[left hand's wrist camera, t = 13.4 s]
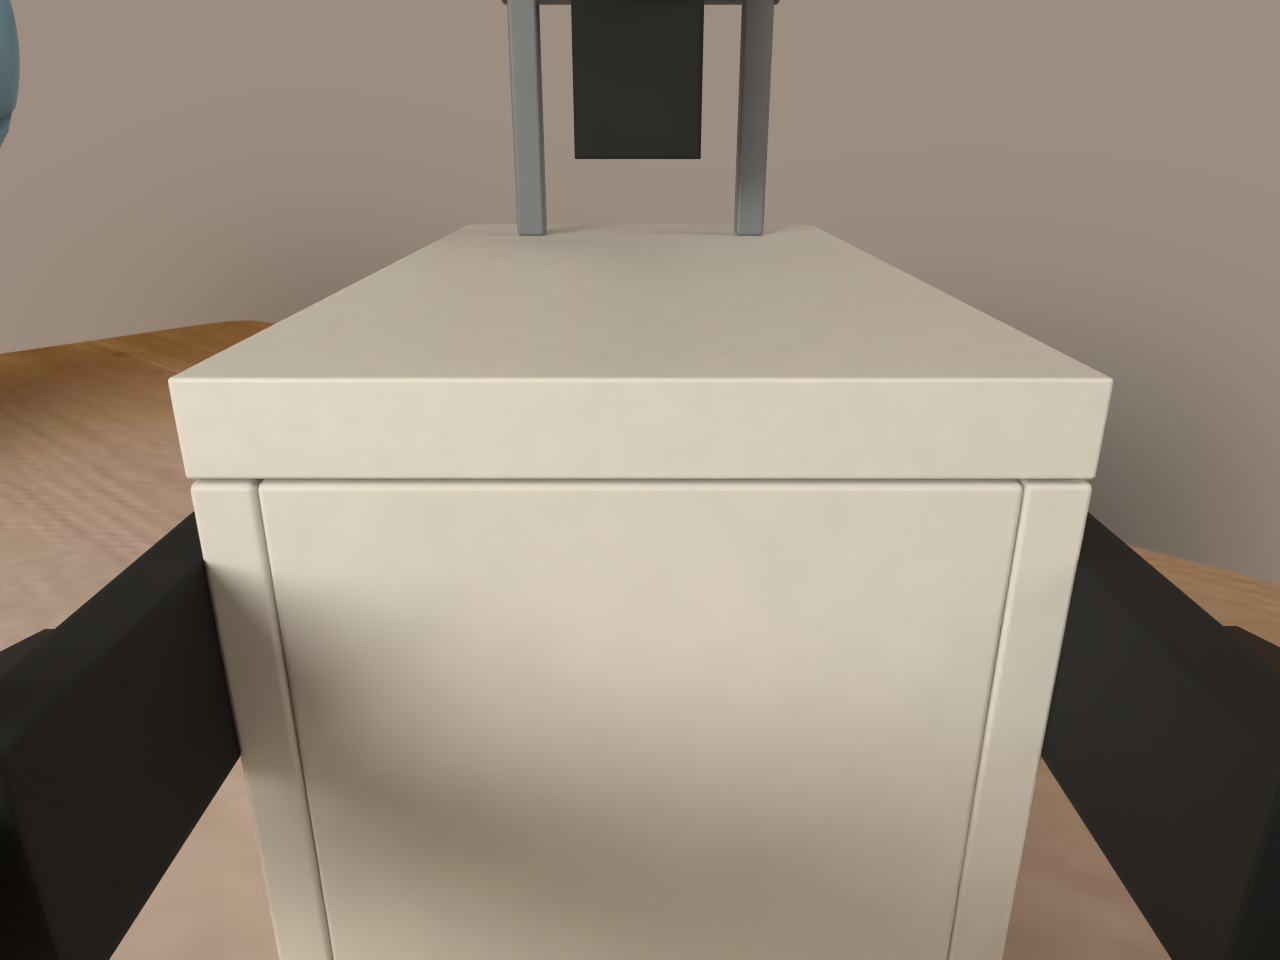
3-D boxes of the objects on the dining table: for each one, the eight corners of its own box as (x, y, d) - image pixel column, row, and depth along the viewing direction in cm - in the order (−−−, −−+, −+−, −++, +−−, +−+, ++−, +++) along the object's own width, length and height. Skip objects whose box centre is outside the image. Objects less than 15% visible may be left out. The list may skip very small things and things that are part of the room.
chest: (484, 568, 29) (464, 271, 26) (796, 568, 29) (816, 271, 26) (299, 1079, 13) (185, 484, 10) (981, 1079, 13) (1095, 484, 10)
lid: (469, 265, 26) (449, -53, 24) (810, 265, 26) (831, -53, 24) (185, 480, 10) (-4, -503, 7) (1095, 480, 10) (1285, -503, 7)
